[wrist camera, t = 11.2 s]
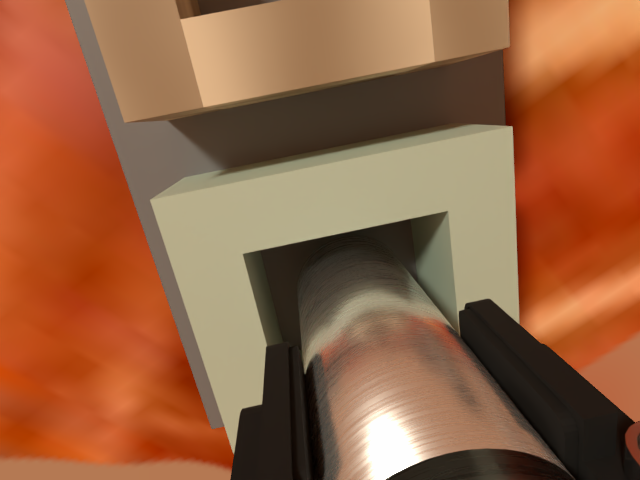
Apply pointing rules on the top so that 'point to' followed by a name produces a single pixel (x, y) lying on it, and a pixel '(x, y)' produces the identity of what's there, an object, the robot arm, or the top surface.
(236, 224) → the sage dock
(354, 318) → the steel pin
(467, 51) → the maple mount
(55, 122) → the top surface
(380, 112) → the base board
